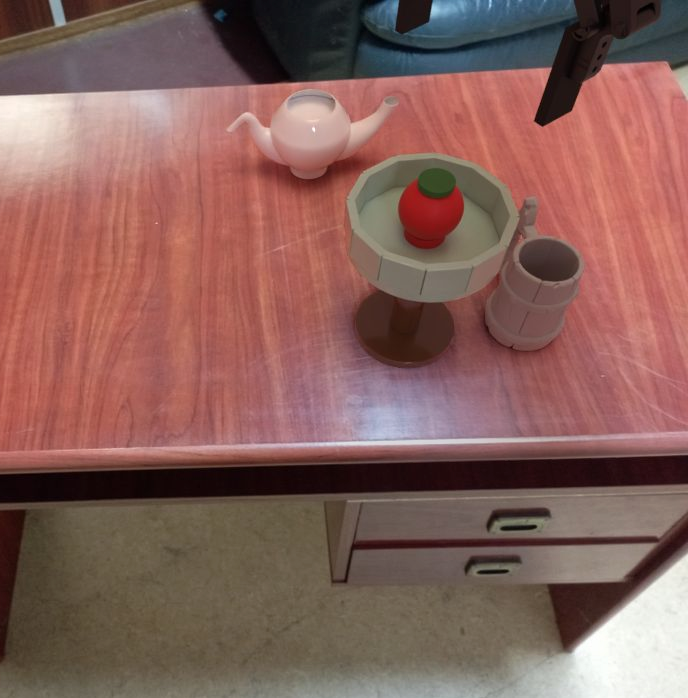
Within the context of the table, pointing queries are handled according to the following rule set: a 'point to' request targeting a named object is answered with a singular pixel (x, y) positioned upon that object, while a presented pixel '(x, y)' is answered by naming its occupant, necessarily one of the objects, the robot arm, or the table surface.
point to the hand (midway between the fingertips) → (477, 68)
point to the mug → (533, 286)
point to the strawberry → (430, 208)
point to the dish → (422, 256)
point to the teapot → (313, 131)
